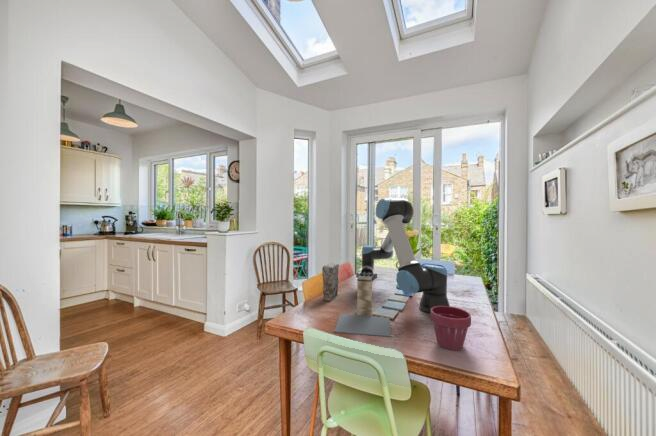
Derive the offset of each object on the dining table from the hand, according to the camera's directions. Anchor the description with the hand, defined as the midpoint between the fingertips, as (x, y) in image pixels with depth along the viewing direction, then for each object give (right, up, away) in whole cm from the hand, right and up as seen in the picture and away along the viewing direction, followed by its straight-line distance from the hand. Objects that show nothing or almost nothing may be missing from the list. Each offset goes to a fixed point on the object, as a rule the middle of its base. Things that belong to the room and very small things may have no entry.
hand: (365, 282), depth 145 cm
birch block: (-2, -13, -10) cm, 16 cm away
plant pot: (+27, -14, -41) cm, 51 cm away
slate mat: (-4, -14, -23) cm, 27 cm away
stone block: (-19, -13, +15) cm, 27 cm away
